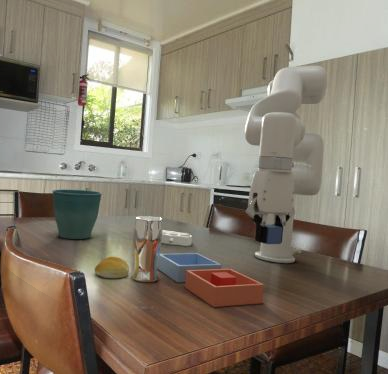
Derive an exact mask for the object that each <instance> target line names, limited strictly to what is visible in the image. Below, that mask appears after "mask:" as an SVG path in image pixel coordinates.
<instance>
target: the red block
mask: <svg viewBox="0 0 388 374" xmlns="http://www.w3.org/2000/svg"><path fill="white" fill-rule="evenodd" d="M210 283H211V284H213V285H215V286H229V285H236V277H235V276H233V275H231V274H229V273H227V272H219V273H211V282H210Z"/></svg>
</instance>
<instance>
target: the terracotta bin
mask: <svg viewBox="0 0 388 374" xmlns="http://www.w3.org/2000/svg"><path fill="white" fill-rule="evenodd" d="M219 272H227V273H229V274H231V275H233V276H235V277H236V285H229V286H215V285H213V284H211V283H210V282H211V273H219ZM184 283H185V284H184V288H185V289H186V290H188V291H189V292H190V293H192V294H193V295H195V296H197V297H198V298H200V299H201V300H202V301H204V302H205V303H207V304H208V305H210V306H211V307H213V308H220V307H231V306H244V305H257V304H258V305H259V304H263V301H264V290H265V284H264V283H262V282H260V281H257V280H255V279H253V278H251V277H249V276H248V275H246V274H245V275H244V274H242V273H240V272H238V271H236V270H234V269H232V268H221V269H211V270H186V282H184Z"/></svg>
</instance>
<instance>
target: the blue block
mask: <svg viewBox="0 0 388 374" xmlns="http://www.w3.org/2000/svg"><path fill="white" fill-rule="evenodd" d="M265 226H267V237H266V243H265V244H281V237H282V227H279V226H275V225H271V224H269V225H265Z"/></svg>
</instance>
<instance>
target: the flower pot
mask: <svg viewBox="0 0 388 374" xmlns="http://www.w3.org/2000/svg"><path fill="white" fill-rule="evenodd" d="M51 192H52V200H53V201H52V202H53V203H52V204H53V215H54V219H55V223H56V226H57V231H58V236H59V237H60V238H61V239H62V238H63V239H67V240H85V239H90V238H91V237H92V232H93V229H94V227H95V224H96V222H97V220H98V217H99V212H100V205H101V200H102V199H101V198H102V195H103V192H100V191H95V190H87V189H86V190H85V189H53V190H52V191H51Z"/></svg>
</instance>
